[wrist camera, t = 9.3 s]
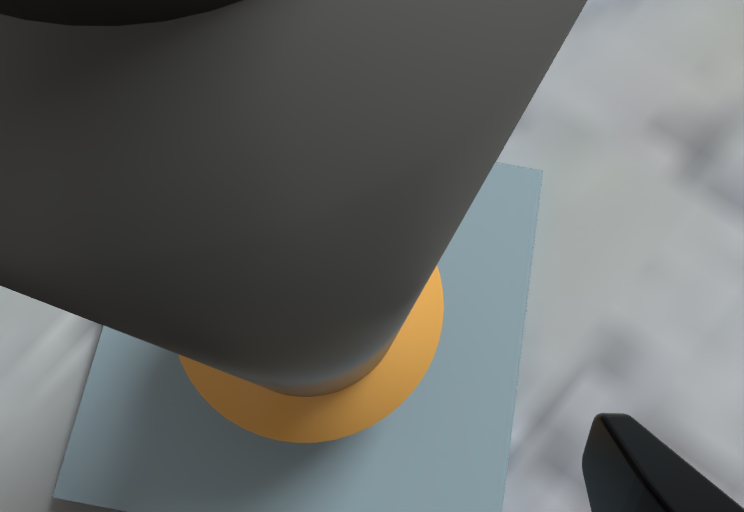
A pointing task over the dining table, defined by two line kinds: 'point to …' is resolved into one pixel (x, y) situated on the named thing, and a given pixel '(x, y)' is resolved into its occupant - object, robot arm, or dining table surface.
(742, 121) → the dining table surface
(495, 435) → the mat
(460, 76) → the plug
